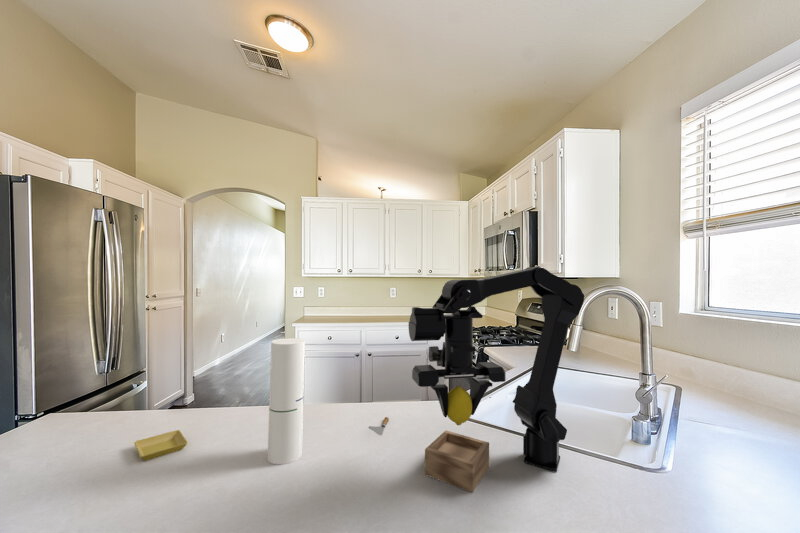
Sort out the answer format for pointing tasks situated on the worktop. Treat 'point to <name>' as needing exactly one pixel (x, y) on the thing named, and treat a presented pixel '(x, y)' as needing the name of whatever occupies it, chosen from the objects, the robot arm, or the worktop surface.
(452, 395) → the lemon
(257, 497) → the worktop surface
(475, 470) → the walnut box
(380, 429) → the putty knife
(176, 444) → the yellow tray
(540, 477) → the worktop surface
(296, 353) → the cylindrical container
